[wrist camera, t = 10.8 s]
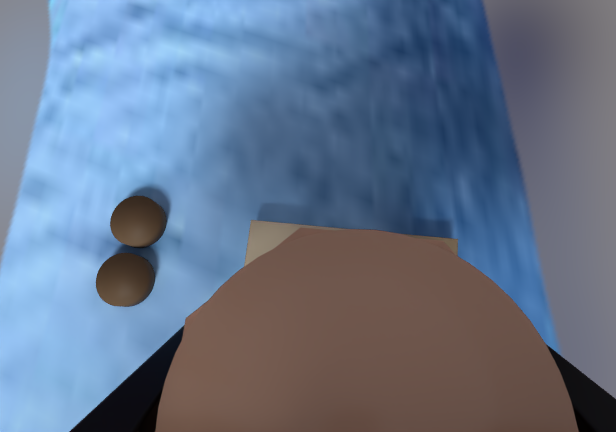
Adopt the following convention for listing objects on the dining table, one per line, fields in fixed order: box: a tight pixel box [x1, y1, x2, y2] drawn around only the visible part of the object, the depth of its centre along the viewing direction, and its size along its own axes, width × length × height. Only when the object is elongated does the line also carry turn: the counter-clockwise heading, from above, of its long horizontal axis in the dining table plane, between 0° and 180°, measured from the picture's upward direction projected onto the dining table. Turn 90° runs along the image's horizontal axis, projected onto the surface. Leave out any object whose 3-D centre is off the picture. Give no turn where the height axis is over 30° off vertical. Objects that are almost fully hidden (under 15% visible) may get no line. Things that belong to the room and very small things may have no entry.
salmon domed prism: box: [155, 227, 579, 432], centre depth 11 cm, size 7×7×10 cm
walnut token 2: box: [96, 253, 155, 307], centre depth 19 cm, size 3×3×1 cm
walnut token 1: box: [110, 196, 167, 248], centre depth 20 cm, size 3×3×1 cm
